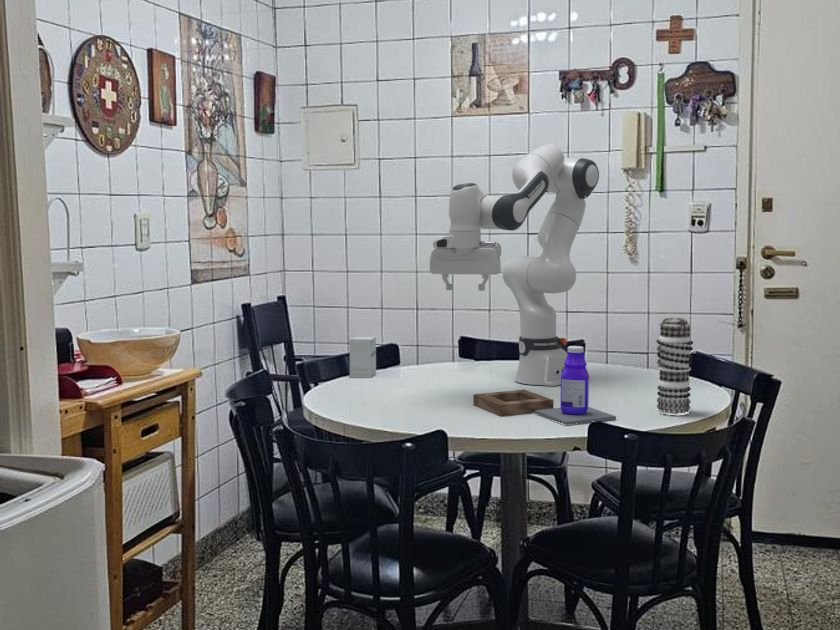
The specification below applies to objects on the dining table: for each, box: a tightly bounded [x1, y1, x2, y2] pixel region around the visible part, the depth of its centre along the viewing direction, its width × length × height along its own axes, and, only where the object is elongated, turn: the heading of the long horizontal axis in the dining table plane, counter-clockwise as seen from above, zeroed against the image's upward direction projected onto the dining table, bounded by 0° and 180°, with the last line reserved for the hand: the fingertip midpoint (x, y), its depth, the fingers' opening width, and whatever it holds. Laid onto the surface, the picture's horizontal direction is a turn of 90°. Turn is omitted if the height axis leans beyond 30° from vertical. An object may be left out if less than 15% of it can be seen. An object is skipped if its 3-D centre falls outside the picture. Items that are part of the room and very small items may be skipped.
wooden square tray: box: [472, 389, 555, 417], centre depth 257 cm, size 16×16×3 cm
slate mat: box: [534, 406, 617, 426], centre depth 245 cm, size 15×15×1 cm
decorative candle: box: [656, 317, 694, 414], centre depth 248 cm, size 9×9×25 cm
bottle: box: [559, 345, 590, 415], centre depth 244 cm, size 7×6×17 cm
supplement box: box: [348, 336, 377, 379], centre depth 308 cm, size 7×7×13 cm
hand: (465, 290), depth 267 cm, fingers open, 8 cm apart
